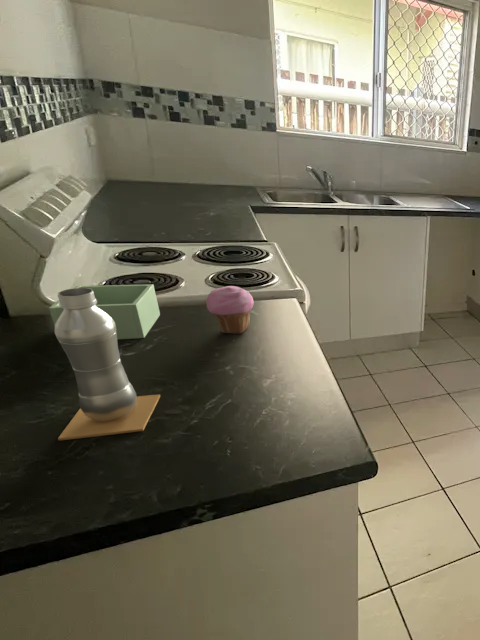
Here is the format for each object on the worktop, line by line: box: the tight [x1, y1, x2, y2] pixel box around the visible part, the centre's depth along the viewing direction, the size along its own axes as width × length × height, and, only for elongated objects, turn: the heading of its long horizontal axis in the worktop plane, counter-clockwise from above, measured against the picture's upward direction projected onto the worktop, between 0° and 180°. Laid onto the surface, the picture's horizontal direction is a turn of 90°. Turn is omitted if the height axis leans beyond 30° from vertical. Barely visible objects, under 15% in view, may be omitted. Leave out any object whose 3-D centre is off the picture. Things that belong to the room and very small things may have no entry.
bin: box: [48, 283, 161, 340], centre depth 98 cm, size 14×13×7 cm
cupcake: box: [206, 285, 255, 335], centre depth 102 cm, size 9×9×10 cm
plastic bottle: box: [53, 287, 137, 421], centre depth 69 cm, size 6×7×20 cm
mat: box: [57, 393, 161, 442], centre depth 73 cm, size 10×10×1 cm
